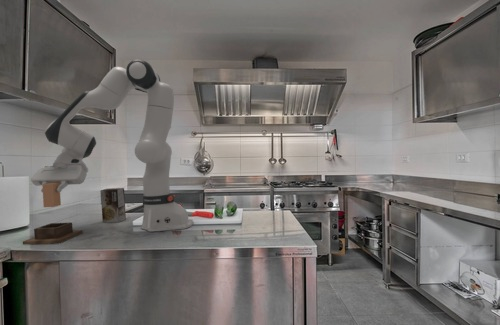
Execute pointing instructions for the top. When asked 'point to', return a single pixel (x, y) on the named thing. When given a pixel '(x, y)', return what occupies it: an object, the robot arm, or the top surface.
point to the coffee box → (113, 205)
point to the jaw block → (51, 195)
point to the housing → (53, 233)
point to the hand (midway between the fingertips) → (50, 191)
